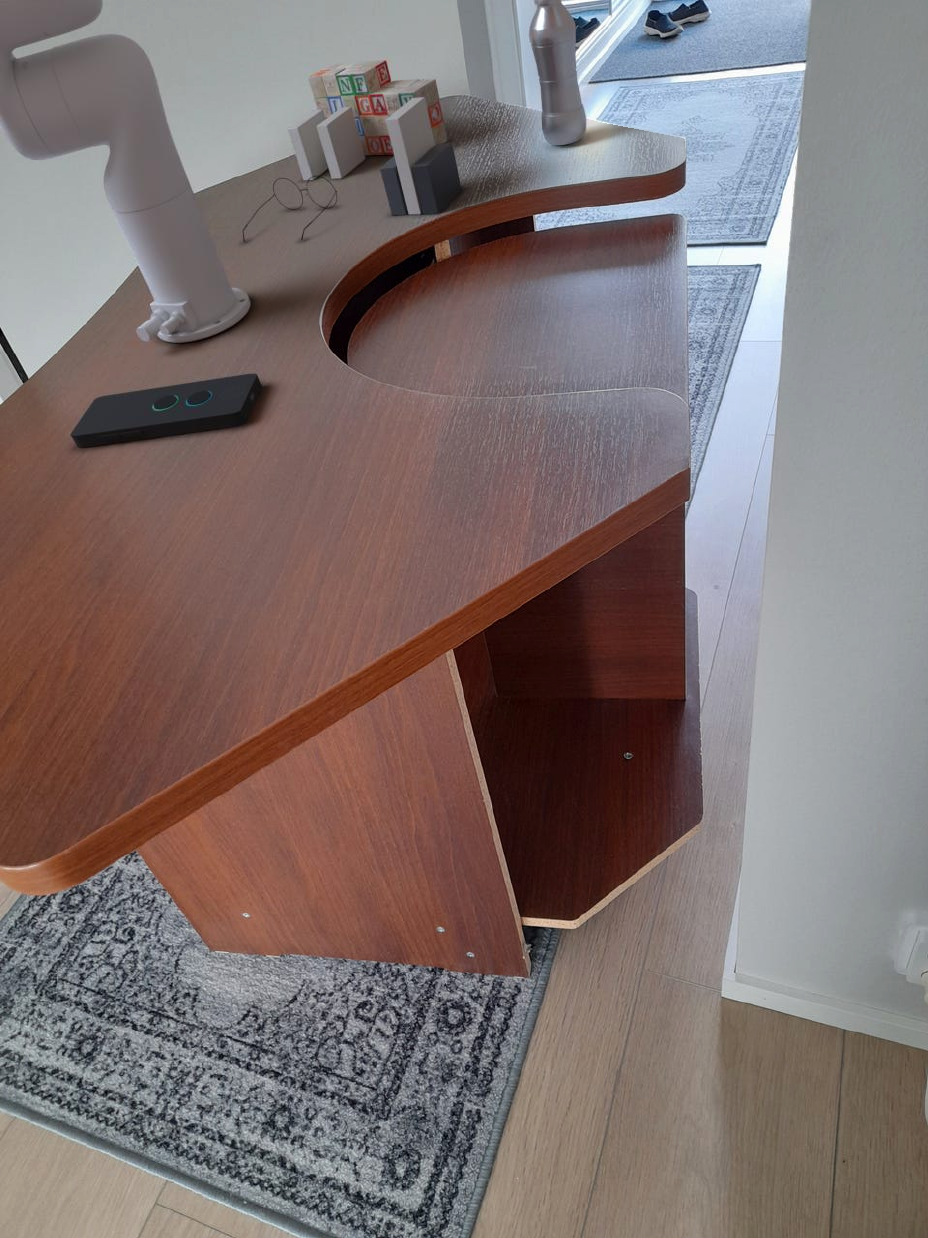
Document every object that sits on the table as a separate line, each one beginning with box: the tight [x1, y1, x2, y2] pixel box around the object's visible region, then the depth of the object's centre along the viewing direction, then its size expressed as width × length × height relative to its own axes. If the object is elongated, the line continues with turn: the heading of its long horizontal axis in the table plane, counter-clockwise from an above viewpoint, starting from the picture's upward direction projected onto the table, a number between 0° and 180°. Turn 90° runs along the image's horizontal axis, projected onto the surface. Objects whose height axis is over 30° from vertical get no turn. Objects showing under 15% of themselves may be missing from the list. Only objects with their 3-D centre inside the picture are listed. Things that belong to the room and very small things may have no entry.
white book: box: [386, 97, 435, 216], centre depth 125 cm, size 8×2×12 cm, turn 155°
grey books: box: [379, 141, 463, 216], centre depth 127 cm, size 8×8×6 cm
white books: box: [287, 107, 366, 181], centre depth 146 cm, size 8×8×8 cm
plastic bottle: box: [528, 0, 588, 146], centre depth 128 cm, size 6×7×20 cm
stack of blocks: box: [307, 59, 448, 156], centre depth 147 cm, size 21×6×12 cm, turn 55°
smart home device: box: [70, 373, 263, 449], centre depth 98 cm, size 8×2×20 cm
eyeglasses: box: [242, 175, 338, 243], centre depth 132 cm, size 11×13×5 cm
